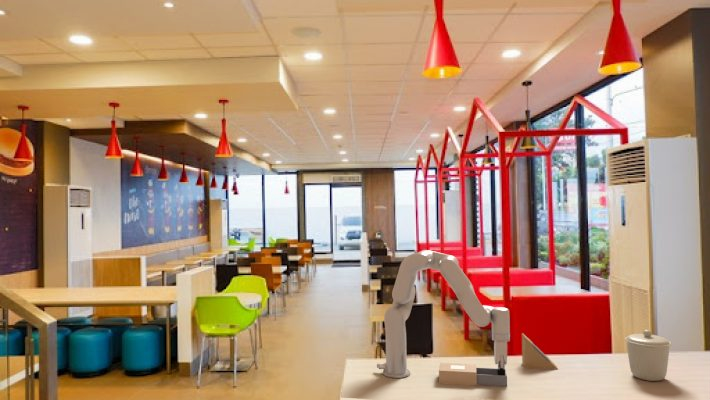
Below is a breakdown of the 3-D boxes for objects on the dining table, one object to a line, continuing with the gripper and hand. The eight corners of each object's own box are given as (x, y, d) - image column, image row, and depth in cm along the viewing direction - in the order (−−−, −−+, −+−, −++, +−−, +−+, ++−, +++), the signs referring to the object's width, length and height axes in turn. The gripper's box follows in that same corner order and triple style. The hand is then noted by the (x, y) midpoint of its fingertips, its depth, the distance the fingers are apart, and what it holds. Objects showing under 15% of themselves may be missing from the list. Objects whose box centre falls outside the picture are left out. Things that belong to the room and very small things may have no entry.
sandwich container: (559, 369, 242) (558, 337, 242) (525, 368, 244) (524, 336, 244) (555, 364, 250) (554, 333, 250) (522, 362, 253) (521, 332, 253)
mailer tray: (471, 384, 222) (470, 374, 222) (470, 377, 231) (470, 367, 231) (507, 386, 219) (506, 376, 219) (505, 379, 228) (505, 369, 228)
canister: (669, 373, 234) (668, 327, 234) (674, 386, 217) (673, 336, 217) (624, 368, 241) (623, 323, 241) (626, 381, 225) (625, 332, 225)
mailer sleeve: (439, 384, 224) (438, 370, 224) (440, 375, 235) (440, 362, 235) (476, 386, 221) (476, 372, 221) (476, 377, 232) (475, 364, 232)
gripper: (491, 331, 232) (491, 372, 232) (492, 340, 218) (493, 384, 218) (508, 332, 231) (508, 373, 231) (511, 341, 216) (511, 385, 216)
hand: (501, 378), depth 224 cm, fingers closed
